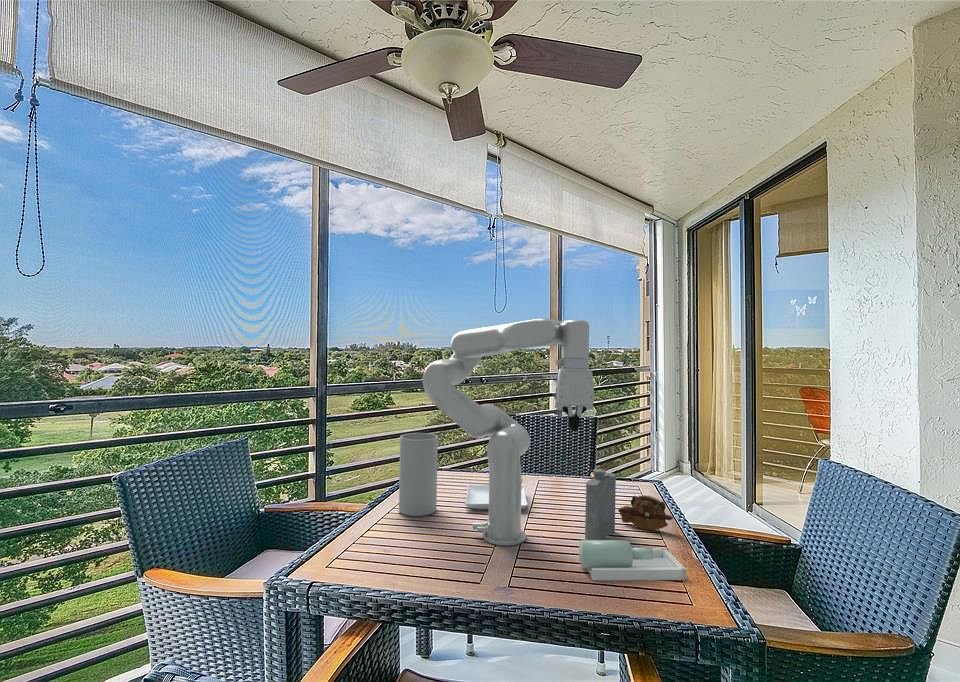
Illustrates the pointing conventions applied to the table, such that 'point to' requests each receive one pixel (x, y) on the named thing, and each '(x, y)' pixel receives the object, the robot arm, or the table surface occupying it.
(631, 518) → the wooden carving
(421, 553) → the table surface
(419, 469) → the cylinder vase
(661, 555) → the white rectangular tray
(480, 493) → the salad plate
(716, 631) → the table surface
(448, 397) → the robot arm
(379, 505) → the table surface
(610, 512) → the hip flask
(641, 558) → the bottle
